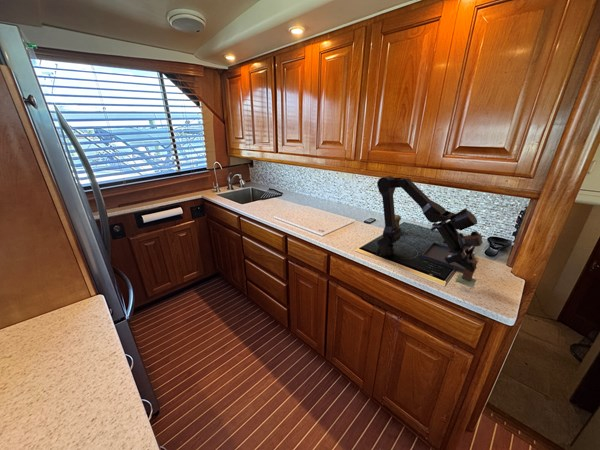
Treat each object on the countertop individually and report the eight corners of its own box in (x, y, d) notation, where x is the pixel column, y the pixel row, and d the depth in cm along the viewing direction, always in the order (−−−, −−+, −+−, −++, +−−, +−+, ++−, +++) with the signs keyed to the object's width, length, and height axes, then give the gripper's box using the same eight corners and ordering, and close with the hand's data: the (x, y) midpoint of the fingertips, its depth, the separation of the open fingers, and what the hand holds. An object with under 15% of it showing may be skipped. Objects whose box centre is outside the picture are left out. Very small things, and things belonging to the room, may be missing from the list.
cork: (390, 229, 149) (393, 212, 145) (400, 231, 146) (403, 215, 141) (387, 232, 145) (389, 215, 140) (397, 235, 141) (400, 218, 137)
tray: (420, 258, 117) (421, 254, 117) (432, 244, 130) (433, 241, 129) (465, 273, 105) (467, 269, 105) (473, 257, 118) (475, 254, 117)
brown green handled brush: (455, 281, 96) (462, 260, 92) (457, 277, 98) (464, 256, 94) (473, 288, 92) (481, 266, 88) (474, 283, 95) (482, 262, 91)
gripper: (463, 233, 83) (491, 273, 80) (478, 220, 94) (503, 255, 91) (434, 245, 91) (458, 282, 88) (451, 231, 103) (472, 264, 100)
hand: (474, 270), depth 92 cm, fingers closed on brown green handled brush, 3 cm apart
